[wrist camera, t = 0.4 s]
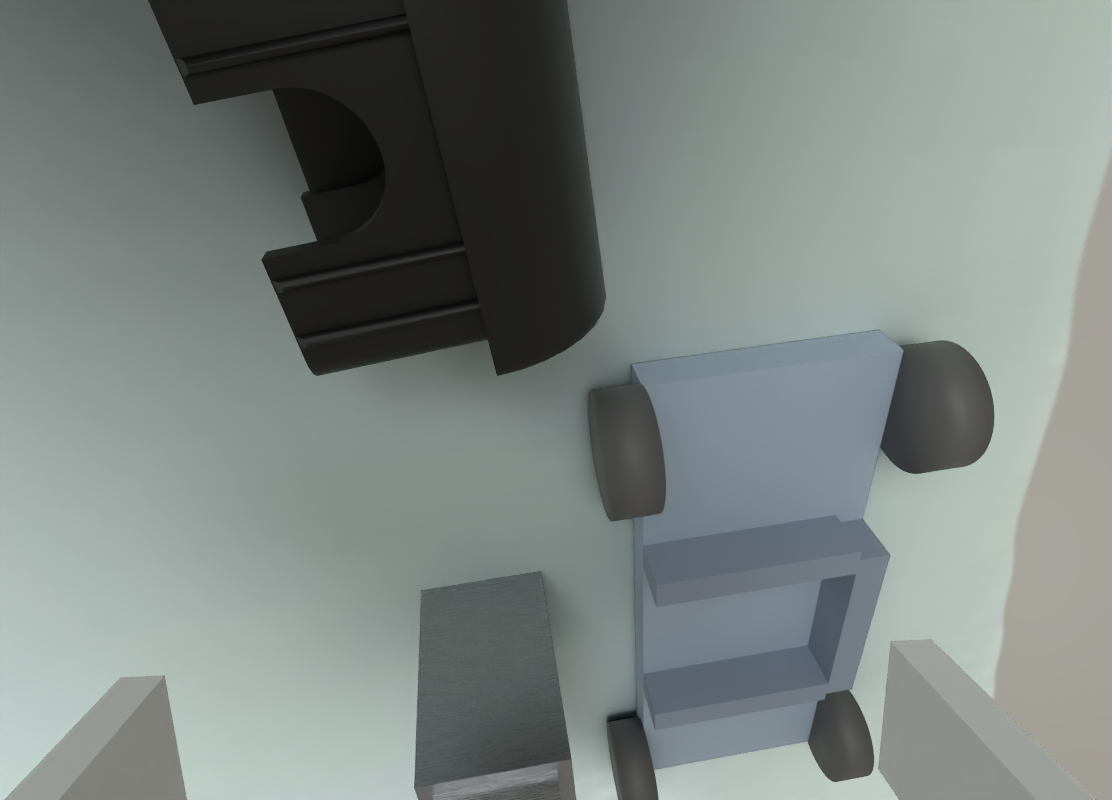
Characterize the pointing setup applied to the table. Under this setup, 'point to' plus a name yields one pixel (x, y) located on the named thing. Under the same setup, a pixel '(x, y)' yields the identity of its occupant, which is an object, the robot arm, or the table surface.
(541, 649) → the capped grey pillar
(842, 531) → the chassis
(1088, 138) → the table surface
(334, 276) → the black arched housing
